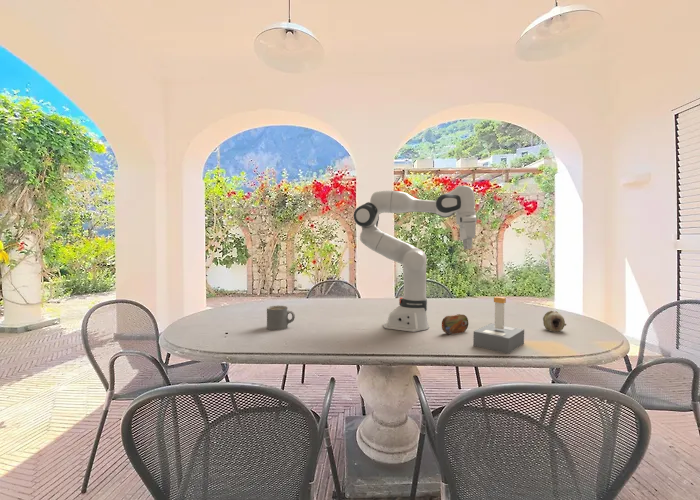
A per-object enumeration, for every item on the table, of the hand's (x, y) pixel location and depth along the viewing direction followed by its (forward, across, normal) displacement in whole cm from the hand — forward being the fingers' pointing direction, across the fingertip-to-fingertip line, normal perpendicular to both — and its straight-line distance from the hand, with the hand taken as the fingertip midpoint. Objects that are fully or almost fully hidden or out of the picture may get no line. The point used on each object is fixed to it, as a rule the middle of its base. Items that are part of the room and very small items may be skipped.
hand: (467, 249), depth 161 cm
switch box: (+41, +16, +8) cm, 45 cm away
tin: (+39, 0, -8) cm, 40 cm away
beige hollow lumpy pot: (+41, -11, +40) cm, 59 cm away
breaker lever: (+34, +16, +8) cm, 39 cm away
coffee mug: (+35, +6, -92) cm, 98 cm away
